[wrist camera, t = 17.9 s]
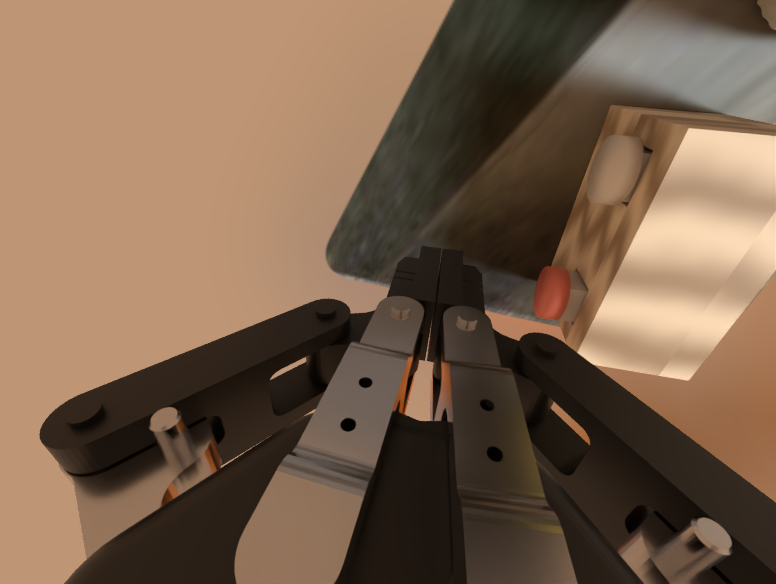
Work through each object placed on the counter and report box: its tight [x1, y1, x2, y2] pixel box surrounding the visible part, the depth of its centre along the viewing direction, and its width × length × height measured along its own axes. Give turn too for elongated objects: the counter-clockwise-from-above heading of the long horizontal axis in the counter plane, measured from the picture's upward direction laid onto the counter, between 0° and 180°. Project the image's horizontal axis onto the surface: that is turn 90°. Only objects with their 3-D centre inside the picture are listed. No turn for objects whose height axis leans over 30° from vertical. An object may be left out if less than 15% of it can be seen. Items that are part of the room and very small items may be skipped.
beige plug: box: [587, 135, 653, 206], centre depth 28 cm, size 5×9×5 cm, turn 86°
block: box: [551, 105, 776, 380], centre depth 32 cm, size 20×10×14 cm, turn 176°
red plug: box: [534, 266, 589, 322], centre depth 35 cm, size 5×9×5 cm, turn 86°
